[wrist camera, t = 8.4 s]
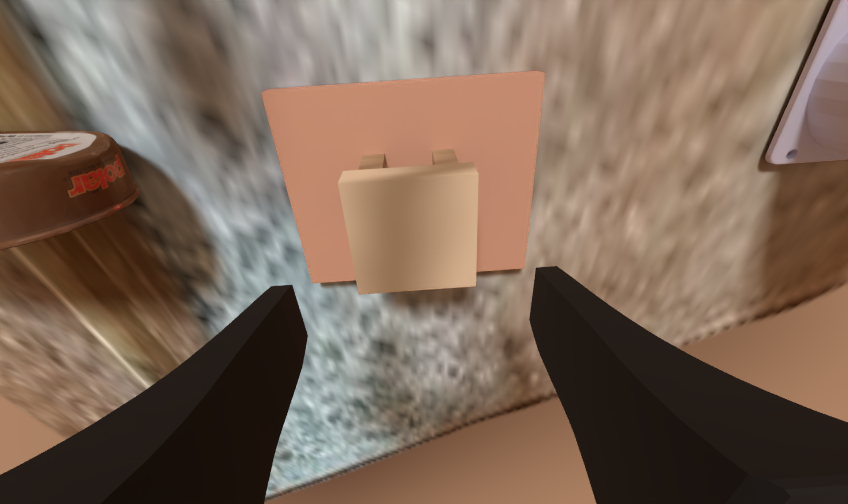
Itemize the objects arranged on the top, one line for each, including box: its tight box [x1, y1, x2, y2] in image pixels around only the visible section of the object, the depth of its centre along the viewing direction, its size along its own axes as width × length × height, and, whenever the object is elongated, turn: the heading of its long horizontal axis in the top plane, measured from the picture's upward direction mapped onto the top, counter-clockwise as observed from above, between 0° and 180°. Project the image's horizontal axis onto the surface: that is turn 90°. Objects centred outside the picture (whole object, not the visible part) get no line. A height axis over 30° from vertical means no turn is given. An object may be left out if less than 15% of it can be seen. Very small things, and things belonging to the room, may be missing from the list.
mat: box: [261, 71, 545, 283], centre depth 19 cm, size 12×10×1 cm
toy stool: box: [338, 149, 479, 294], centre depth 16 cm, size 5×5×4 cm
